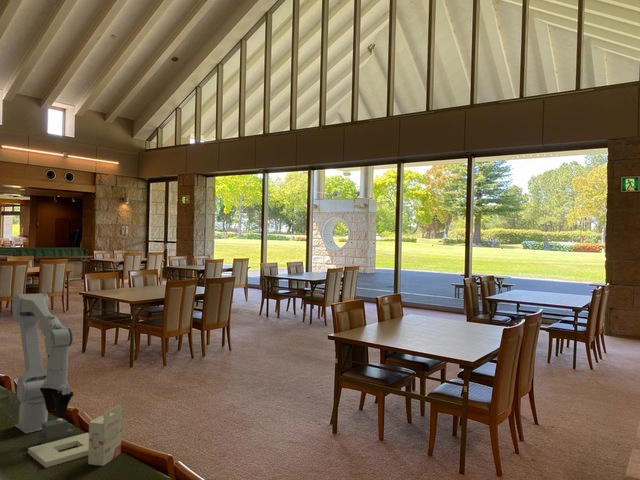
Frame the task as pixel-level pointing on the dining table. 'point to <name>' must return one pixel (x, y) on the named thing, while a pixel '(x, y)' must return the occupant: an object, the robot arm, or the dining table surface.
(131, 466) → the dining table surface
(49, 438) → the servo block
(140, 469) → the dining table surface
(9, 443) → the dining table surface
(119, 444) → the ink cartridge box
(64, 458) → the pocket plate
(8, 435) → the dining table surface
